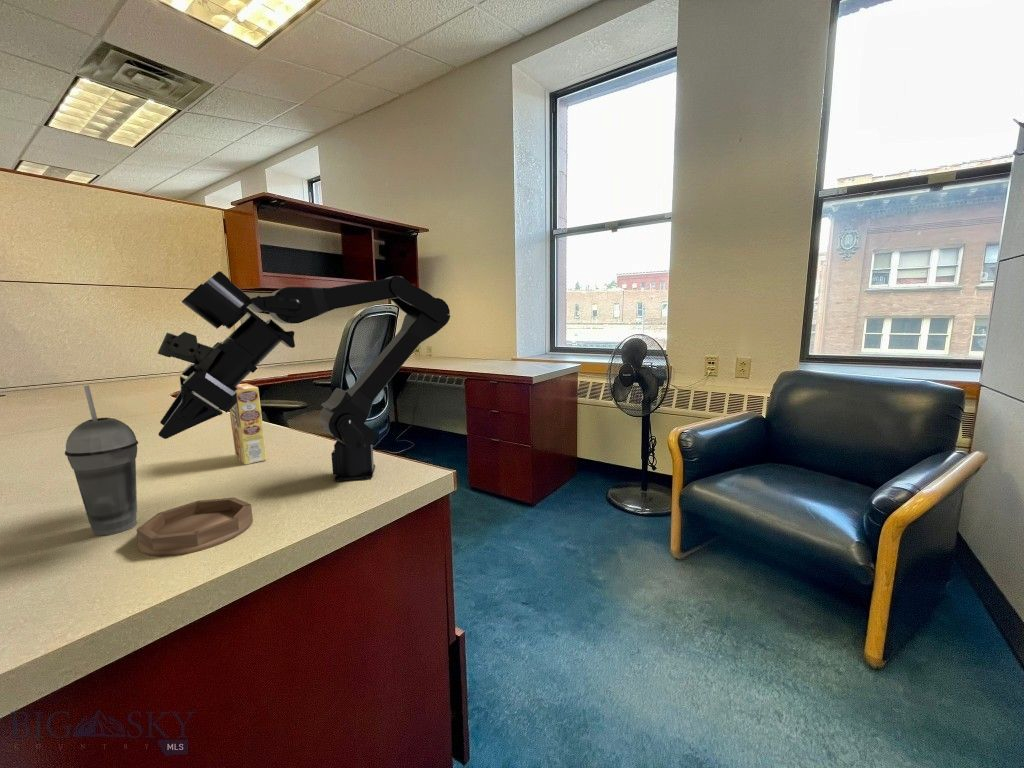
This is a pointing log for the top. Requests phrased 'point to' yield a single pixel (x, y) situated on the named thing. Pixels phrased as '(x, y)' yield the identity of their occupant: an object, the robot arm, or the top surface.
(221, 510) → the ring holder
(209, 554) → the top surface
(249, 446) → the candy box
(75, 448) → the beverage cup
